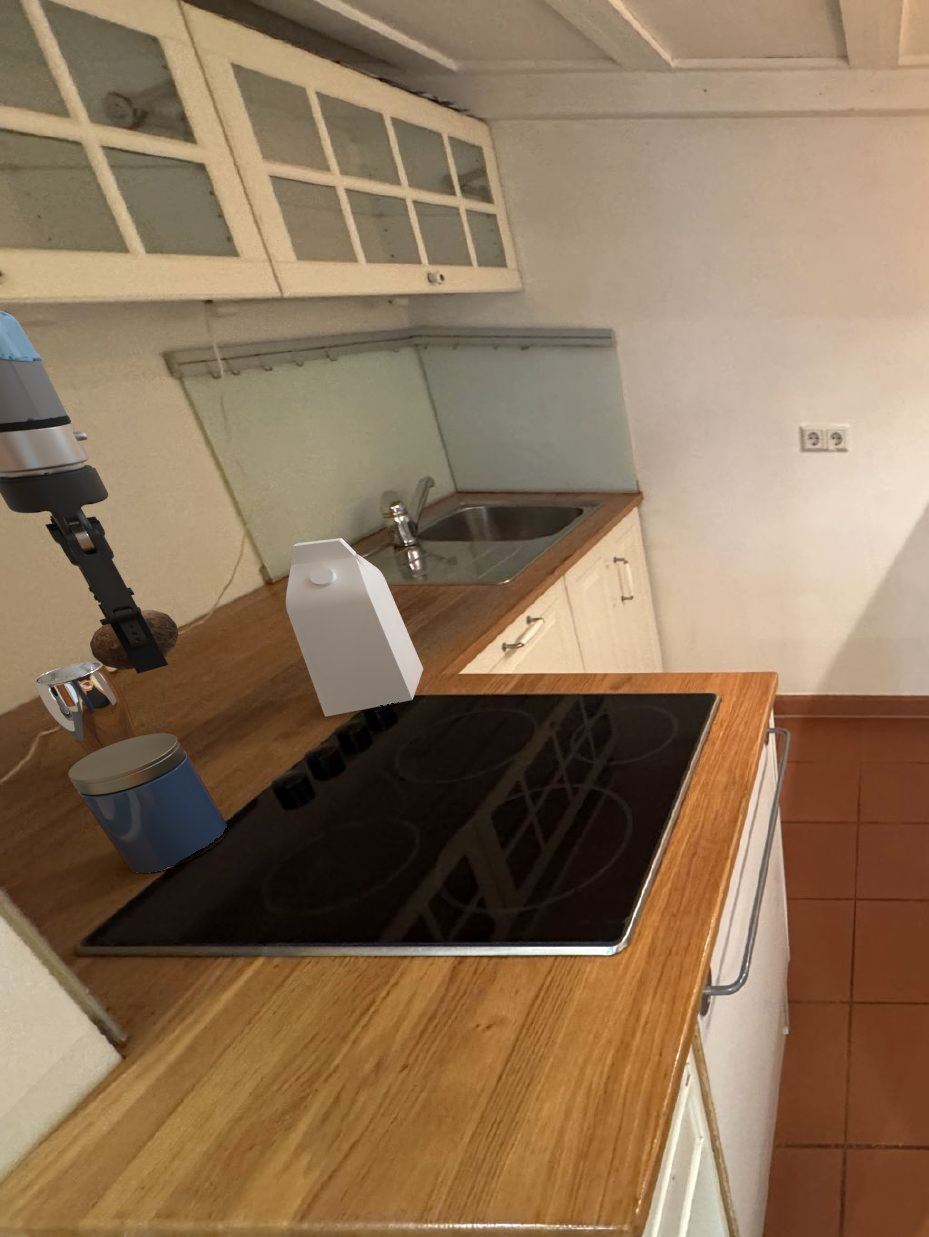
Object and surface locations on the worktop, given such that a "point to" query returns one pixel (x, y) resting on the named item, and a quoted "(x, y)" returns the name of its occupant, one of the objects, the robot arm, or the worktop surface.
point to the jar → (159, 818)
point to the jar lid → (126, 764)
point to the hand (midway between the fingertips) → (146, 658)
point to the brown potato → (111, 649)
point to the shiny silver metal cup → (87, 704)
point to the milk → (349, 629)
